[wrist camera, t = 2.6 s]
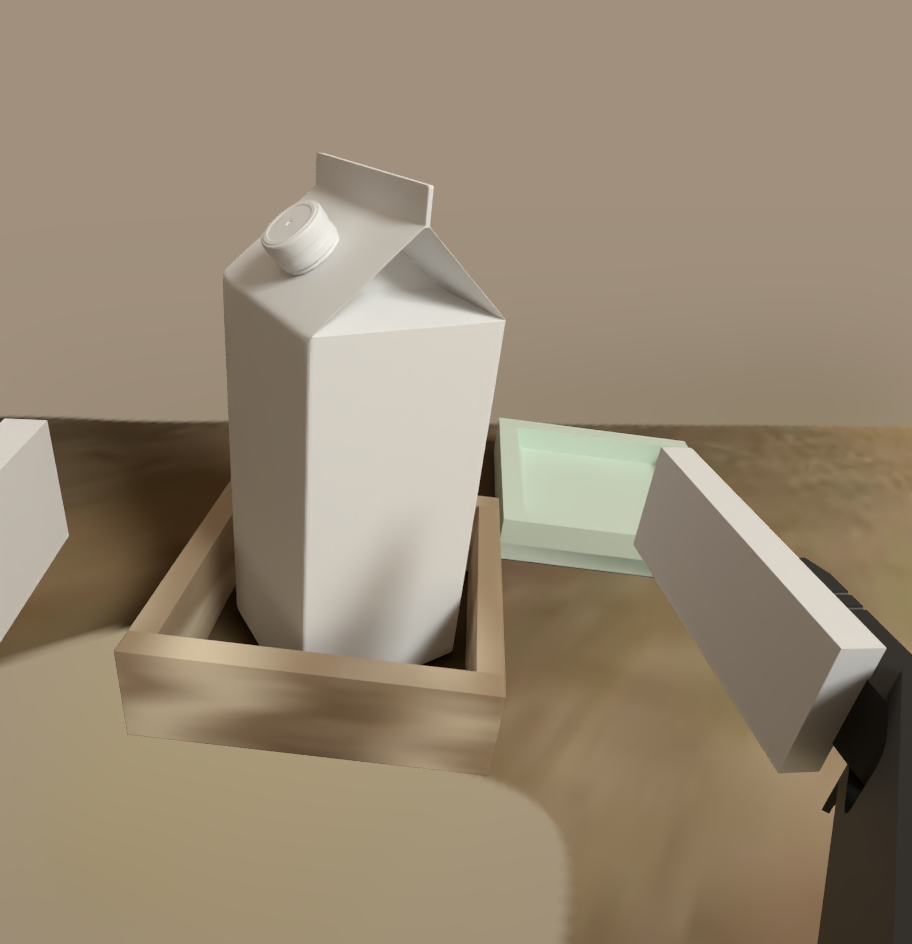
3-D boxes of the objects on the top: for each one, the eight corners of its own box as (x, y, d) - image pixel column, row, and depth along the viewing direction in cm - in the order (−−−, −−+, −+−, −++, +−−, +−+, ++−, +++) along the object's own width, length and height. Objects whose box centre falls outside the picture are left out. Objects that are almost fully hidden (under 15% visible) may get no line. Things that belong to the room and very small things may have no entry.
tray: (496, 557, 36) (503, 518, 35) (493, 449, 48) (499, 417, 46) (733, 586, 36) (748, 549, 35) (674, 472, 48) (684, 441, 47)
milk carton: (373, 566, 34) (405, 158, 25) (453, 655, 29) (529, 191, 20) (235, 608, 30) (214, 143, 21) (301, 720, 25) (310, 178, 16)
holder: (127, 734, 24) (114, 651, 22) (242, 532, 35) (240, 465, 33) (488, 775, 24) (506, 697, 22) (487, 562, 36) (498, 498, 34)
